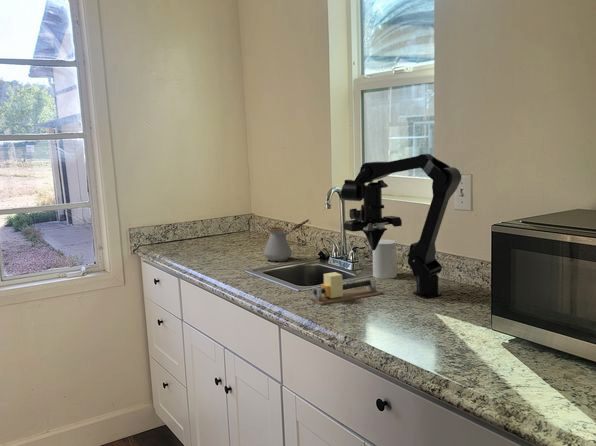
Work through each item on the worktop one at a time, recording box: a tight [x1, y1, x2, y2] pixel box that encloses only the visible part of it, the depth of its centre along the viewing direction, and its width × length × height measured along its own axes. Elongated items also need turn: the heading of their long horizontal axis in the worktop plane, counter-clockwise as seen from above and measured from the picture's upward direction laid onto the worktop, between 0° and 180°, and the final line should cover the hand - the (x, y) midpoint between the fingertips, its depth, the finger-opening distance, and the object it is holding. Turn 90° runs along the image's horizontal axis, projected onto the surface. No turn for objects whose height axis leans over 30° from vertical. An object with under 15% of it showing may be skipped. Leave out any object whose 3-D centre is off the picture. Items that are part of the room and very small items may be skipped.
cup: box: [372, 239, 398, 280], centre depth 198 cm, size 8×8×12 cm
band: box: [320, 283, 330, 297], centre depth 171 cm, size 3×1×3 cm, turn 26°
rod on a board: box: [307, 277, 382, 306], centre depth 174 cm, size 8×21×4 cm, turn 116°
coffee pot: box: [263, 219, 312, 262], centre depth 233 cm, size 21×12×15 cm, turn 119°
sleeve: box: [323, 271, 344, 298], centre depth 172 cm, size 4×4×7 cm
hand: (373, 250), depth 183 cm, fingers closed
